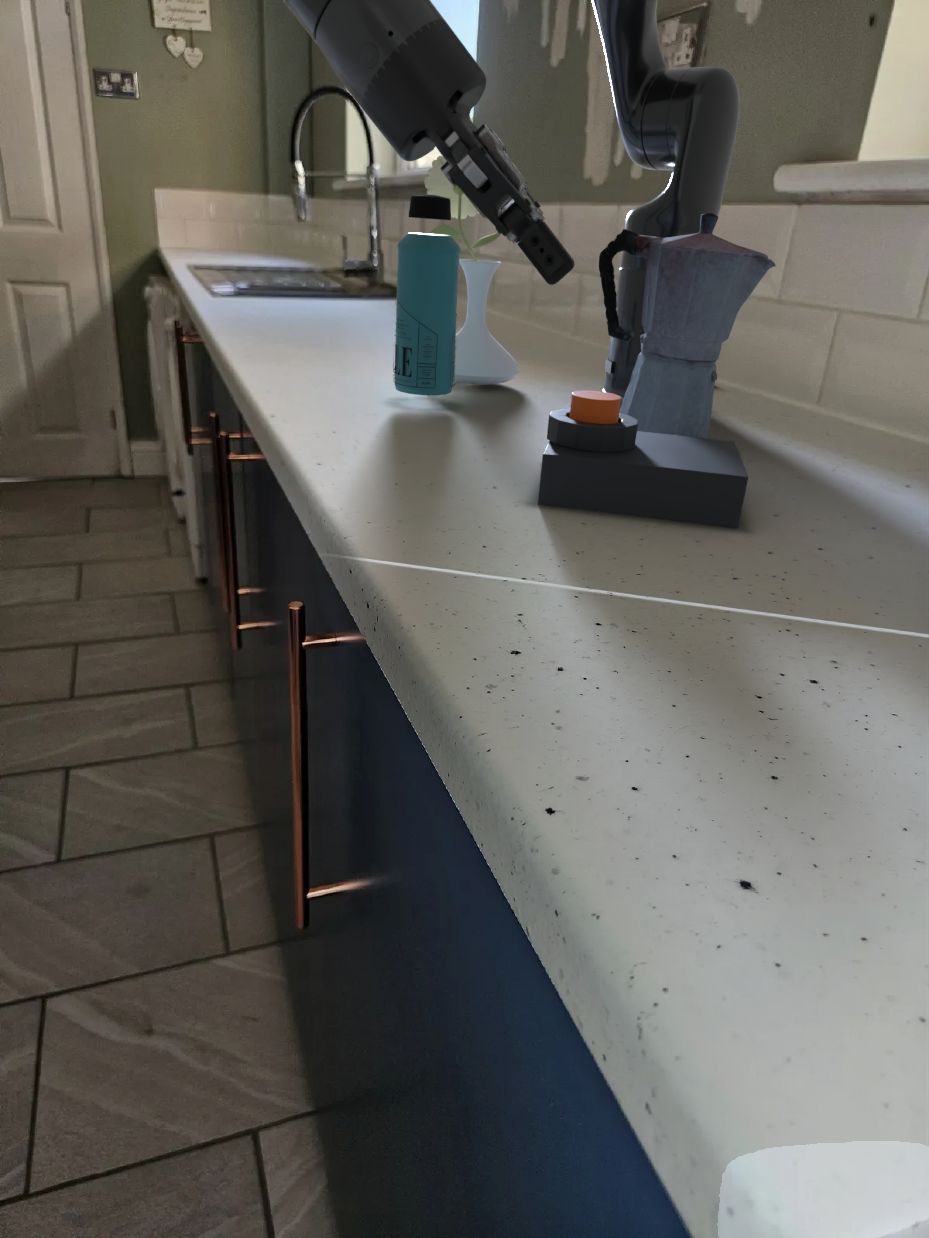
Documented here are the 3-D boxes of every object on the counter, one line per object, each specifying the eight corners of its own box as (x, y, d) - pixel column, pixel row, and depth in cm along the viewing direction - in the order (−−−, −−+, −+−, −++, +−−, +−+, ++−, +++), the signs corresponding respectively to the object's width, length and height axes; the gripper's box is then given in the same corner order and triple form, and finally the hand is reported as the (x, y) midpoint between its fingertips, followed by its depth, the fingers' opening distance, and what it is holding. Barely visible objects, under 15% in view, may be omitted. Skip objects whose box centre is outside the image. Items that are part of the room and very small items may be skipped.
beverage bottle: (464, 405, 93) (478, 198, 85) (429, 413, 88) (440, 194, 80) (415, 395, 96) (423, 195, 88) (378, 403, 91) (383, 191, 83)
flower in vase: (529, 381, 109) (550, 157, 99) (501, 395, 100) (520, 148, 89) (434, 369, 113) (444, 152, 103) (397, 381, 103) (404, 143, 93)
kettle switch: (566, 425, 63) (570, 397, 62) (571, 415, 66) (574, 388, 66) (616, 430, 63) (620, 402, 62) (618, 420, 66) (622, 393, 65)
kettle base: (533, 504, 62) (541, 427, 60) (550, 466, 72) (557, 399, 70) (737, 529, 60) (754, 450, 58) (726, 486, 70) (739, 418, 68)
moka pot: (742, 459, 79) (792, 217, 70) (573, 440, 81) (601, 204, 73) (734, 437, 87) (777, 218, 79) (581, 420, 90) (607, 206, 81)
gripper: (417, -9, 50) (602, 239, 53) (462, 37, 62) (611, 237, 65) (329, 93, 53) (509, 321, 56) (388, 118, 65) (534, 305, 68)
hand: (563, 276), depth 61 cm, fingers closed
